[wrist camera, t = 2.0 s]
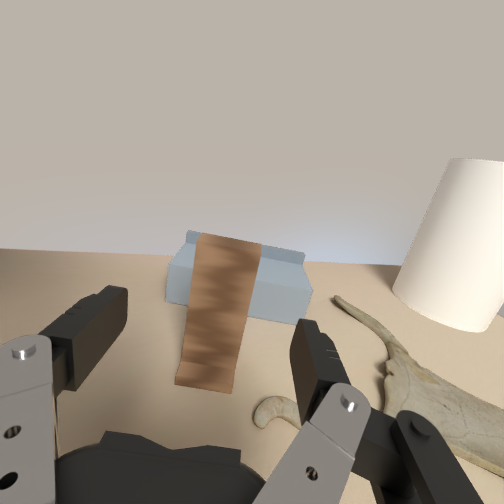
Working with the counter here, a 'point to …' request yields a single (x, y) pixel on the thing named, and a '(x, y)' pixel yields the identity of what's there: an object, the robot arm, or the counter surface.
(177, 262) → the display riser
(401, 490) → the robot arm
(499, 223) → the cylinder
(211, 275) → the brown wooden block
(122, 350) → the counter surface
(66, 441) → the counter surface
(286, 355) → the counter surface
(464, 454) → the decorative wall piece
